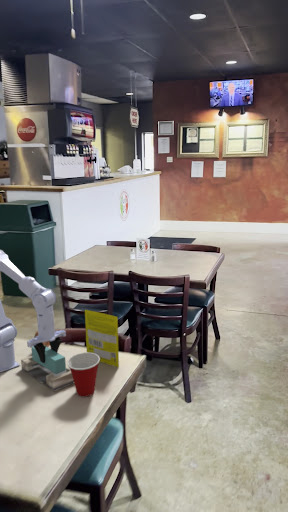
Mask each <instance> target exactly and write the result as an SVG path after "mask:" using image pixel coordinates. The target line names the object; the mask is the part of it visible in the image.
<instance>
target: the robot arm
mask: <svg viewBox="0 0 288 512" xmlns="http://www.w3.org/2000/svg"><path fill="white" fill-rule="evenodd" d="M0 272H2V273H4V274H5V276H8V277H9V278H10V279H12V280H13V281H14V282H16V283H17V284H18V289H19V290H20V291H21V292H22V293H23V294H24V295H26V296H27V297H28V298H29V299H30V300H31V303H32V305H33V307H34V309H35V313H36V317H37V331H38V336H37V337H35V338H34V337H33V338H31V339H29V340H27V341H26V345H27V347H28V348H31V349H32V347H33V346H34V348H35V349H36V351H37V353H38V355H39V358H40V361H41V362H42V363H45V349H46V346H44V345H43V343H44V342H47V341H49V342H50V345H49V346H50V347H49V348H50V349H52V350H53V351H55V352H57V353H59V349H60V345H61V344H62V341H63V340H62V339H61V337H63V338H65V337H66V336H67V334H66V333H67V332H66V330H64V329H60V330H55V315H54V313H55V312H54V304H55V303H56V301H57V296H56V293H55V292H54V291H53V289H51V288H46V287H44V286H42V285H41V284H40V283H38V282H37V280H36V279H35V278H34V277H32V276H25V274H24V273H23V272H22V271H21V270H20V269H19V268H18V267H17V266H16V265H14V263H13V262H11V260H10V259H9V255H8V254H6V252H4V250H2V249H0ZM17 335H18V329H17V327H16V326H15V325H14V322H13V319H11V318H9V317H7V316H6V314H5V310H4V306H3V303H2V299H1V298H0V373H2V372H6V371H9V370H12V369H14V368H16V367H19V366H21V365H20V363H19V362H17V361H16V356H15V345H14V344H15V343H14V342H15V338H16V337H17Z"/></svg>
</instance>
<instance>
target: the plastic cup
mask: <svg viewBox="0 0 288 512" xmlns="http://www.w3.org/2000/svg"><path fill="white" fill-rule="evenodd" d="M99 361H100V357H99V356H98V355H97V354H94V353H87V351H86V352H80V353H76V354H73V355H72V356H70V357H69V358H68V360H67V361H66V364H67V365H66V366H67V367H69V368H70V370H71V372H72V376H73V380H74V383H73V384H74V386H75V392H76V395H77V396H79V397H84V398H85V397H90V396H92V395H93V394H94V393H95V389H96V383H97V376H98V375H97V374H98V368H99V363H100V362H99Z"/></svg>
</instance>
